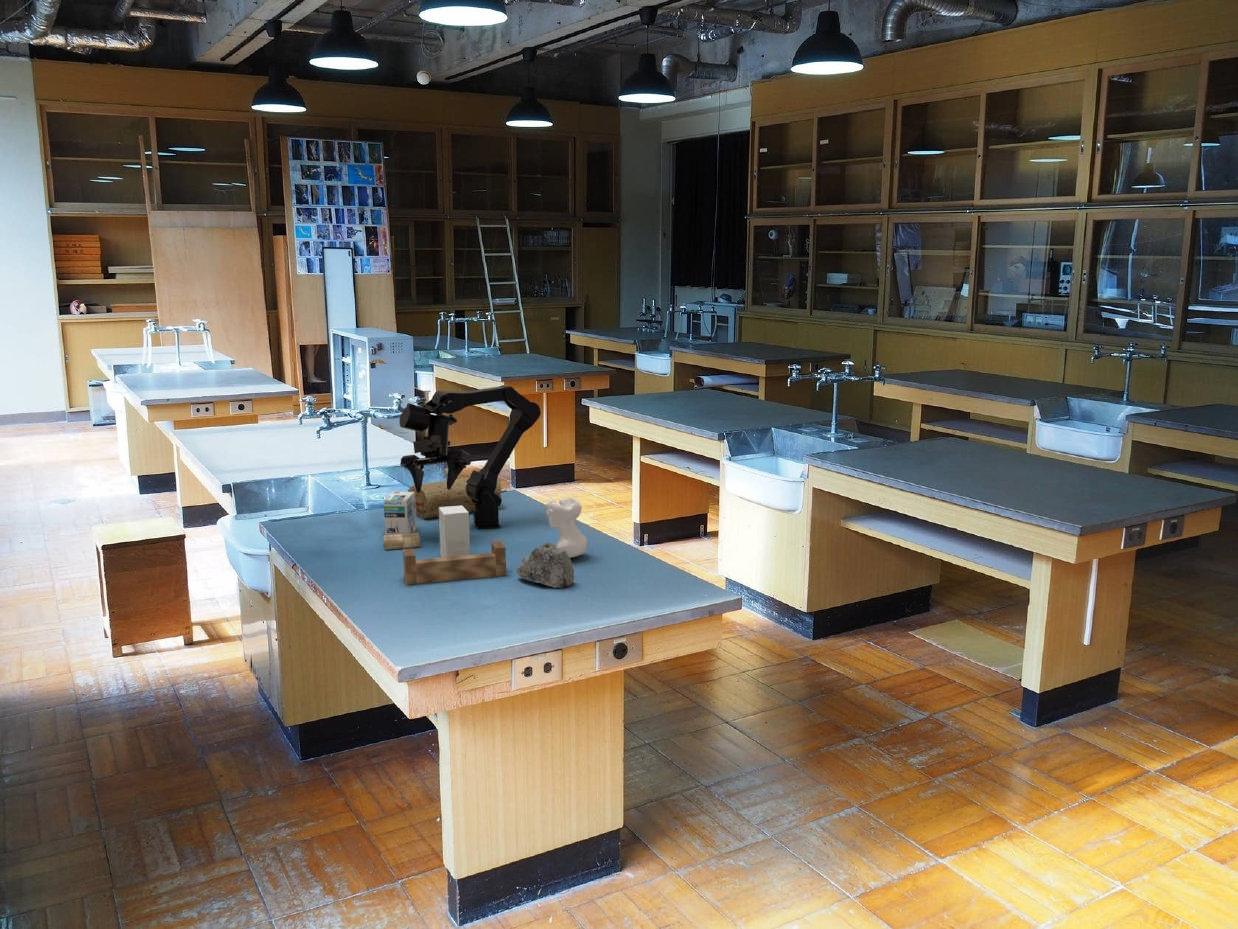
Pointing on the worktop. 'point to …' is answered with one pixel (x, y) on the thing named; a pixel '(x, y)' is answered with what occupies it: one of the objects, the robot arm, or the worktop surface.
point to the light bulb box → (400, 513)
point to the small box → (454, 531)
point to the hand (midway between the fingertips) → (433, 490)
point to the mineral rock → (548, 567)
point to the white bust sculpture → (567, 525)
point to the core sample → (443, 497)
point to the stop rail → (454, 566)
